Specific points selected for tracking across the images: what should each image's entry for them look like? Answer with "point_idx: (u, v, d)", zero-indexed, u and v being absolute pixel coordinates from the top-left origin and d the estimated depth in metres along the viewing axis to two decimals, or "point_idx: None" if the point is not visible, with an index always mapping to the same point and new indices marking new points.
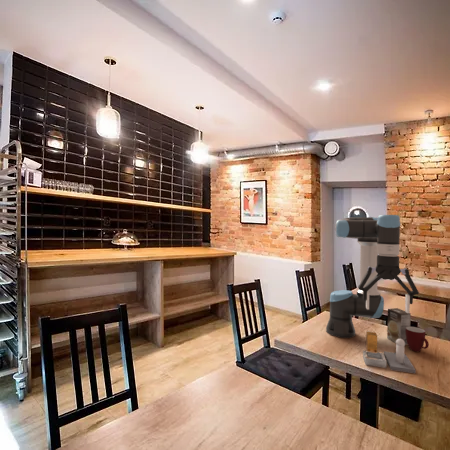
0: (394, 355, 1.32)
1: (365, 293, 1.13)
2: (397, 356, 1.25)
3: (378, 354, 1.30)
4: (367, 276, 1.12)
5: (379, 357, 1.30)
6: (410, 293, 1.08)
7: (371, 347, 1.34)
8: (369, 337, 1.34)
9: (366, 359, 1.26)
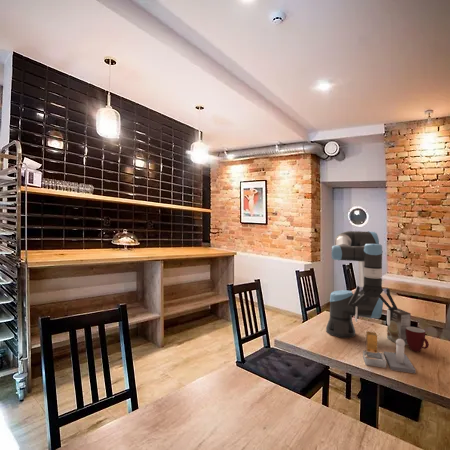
0: (394, 355, 1.32)
1: (354, 308, 1.37)
2: (397, 356, 1.25)
3: (378, 354, 1.30)
4: (356, 294, 1.36)
5: (379, 357, 1.30)
6: (390, 309, 1.31)
7: (371, 347, 1.34)
8: (369, 337, 1.34)
9: (366, 359, 1.26)
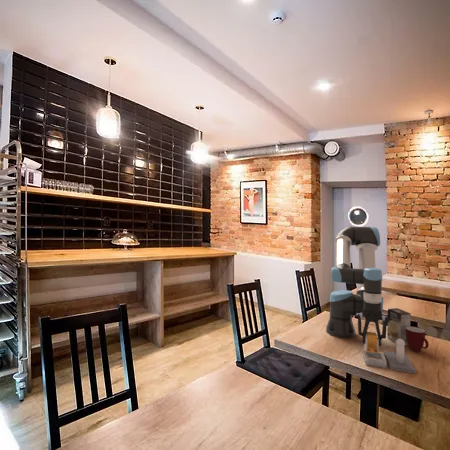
0: (394, 355, 1.32)
1: (364, 338, 1.36)
2: (397, 356, 1.25)
3: (378, 354, 1.30)
4: (359, 322, 1.36)
5: (379, 357, 1.30)
6: (379, 337, 1.33)
7: (371, 347, 1.34)
8: (369, 337, 1.34)
9: (366, 359, 1.26)
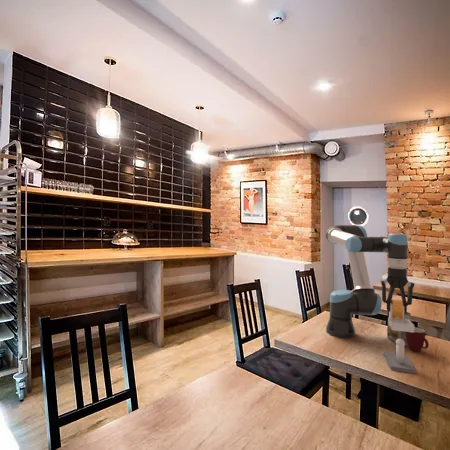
0: (394, 355, 1.32)
1: (388, 305, 1.32)
2: (397, 356, 1.25)
3: (404, 320, 1.27)
4: (384, 289, 1.32)
5: (405, 323, 1.27)
6: (405, 303, 1.30)
7: (396, 313, 1.30)
8: (394, 304, 1.30)
9: (393, 324, 1.22)
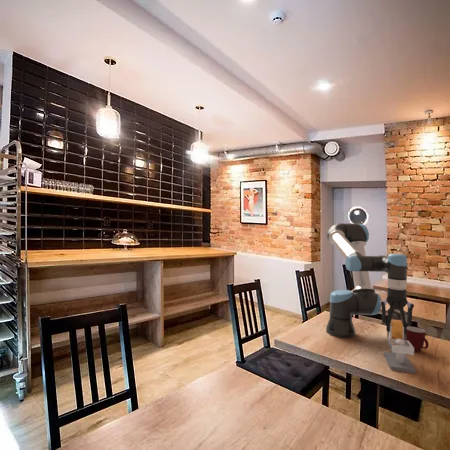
0: (394, 355, 1.32)
1: (388, 326, 1.32)
2: (397, 356, 1.25)
3: None
4: (384, 309, 1.33)
5: (405, 345, 1.27)
6: (405, 324, 1.30)
7: (396, 334, 1.30)
8: (394, 324, 1.30)
9: (393, 346, 1.22)
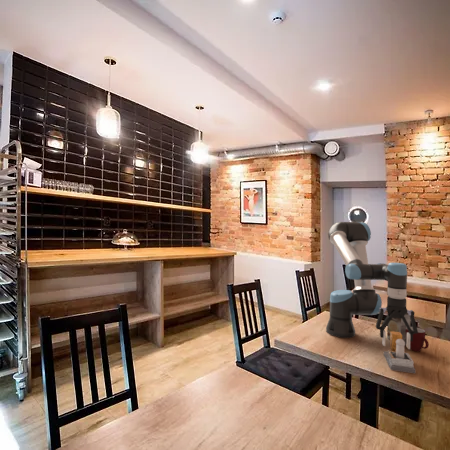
0: None
1: (382, 332, 1.33)
2: (397, 356, 1.25)
3: None
4: (381, 316, 1.33)
5: (404, 357, 1.27)
6: (411, 332, 1.29)
7: (395, 347, 1.30)
8: (394, 337, 1.31)
9: (392, 359, 1.23)
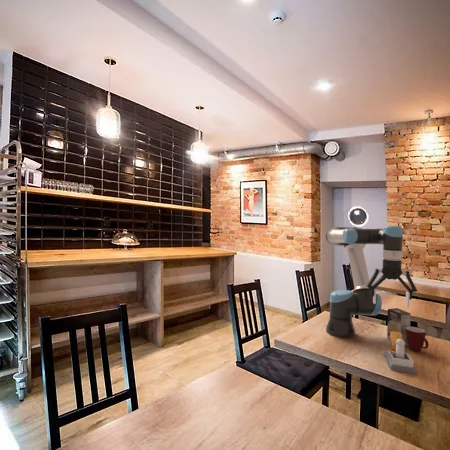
0: None
1: (373, 290, 1.36)
2: (397, 356, 1.25)
3: None
4: (374, 276, 1.35)
5: (404, 357, 1.27)
6: (410, 290, 1.31)
7: (395, 347, 1.30)
8: (394, 337, 1.31)
9: (392, 359, 1.23)
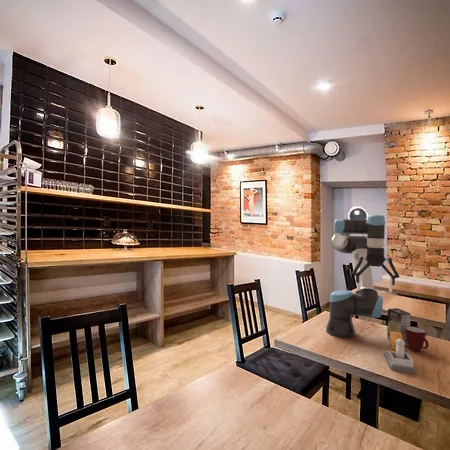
0: None
1: (357, 277, 1.42)
2: (397, 356, 1.25)
3: None
4: (359, 264, 1.42)
5: (404, 357, 1.27)
6: (392, 277, 1.37)
7: (395, 347, 1.30)
8: (394, 337, 1.31)
9: (392, 359, 1.23)
